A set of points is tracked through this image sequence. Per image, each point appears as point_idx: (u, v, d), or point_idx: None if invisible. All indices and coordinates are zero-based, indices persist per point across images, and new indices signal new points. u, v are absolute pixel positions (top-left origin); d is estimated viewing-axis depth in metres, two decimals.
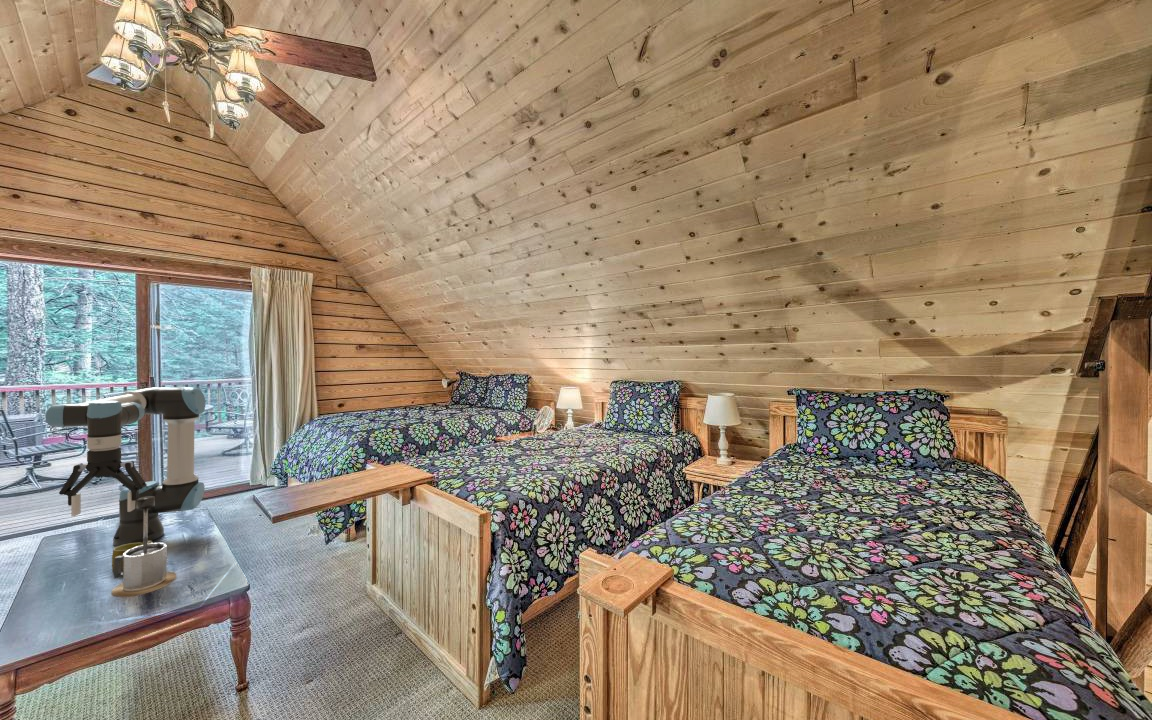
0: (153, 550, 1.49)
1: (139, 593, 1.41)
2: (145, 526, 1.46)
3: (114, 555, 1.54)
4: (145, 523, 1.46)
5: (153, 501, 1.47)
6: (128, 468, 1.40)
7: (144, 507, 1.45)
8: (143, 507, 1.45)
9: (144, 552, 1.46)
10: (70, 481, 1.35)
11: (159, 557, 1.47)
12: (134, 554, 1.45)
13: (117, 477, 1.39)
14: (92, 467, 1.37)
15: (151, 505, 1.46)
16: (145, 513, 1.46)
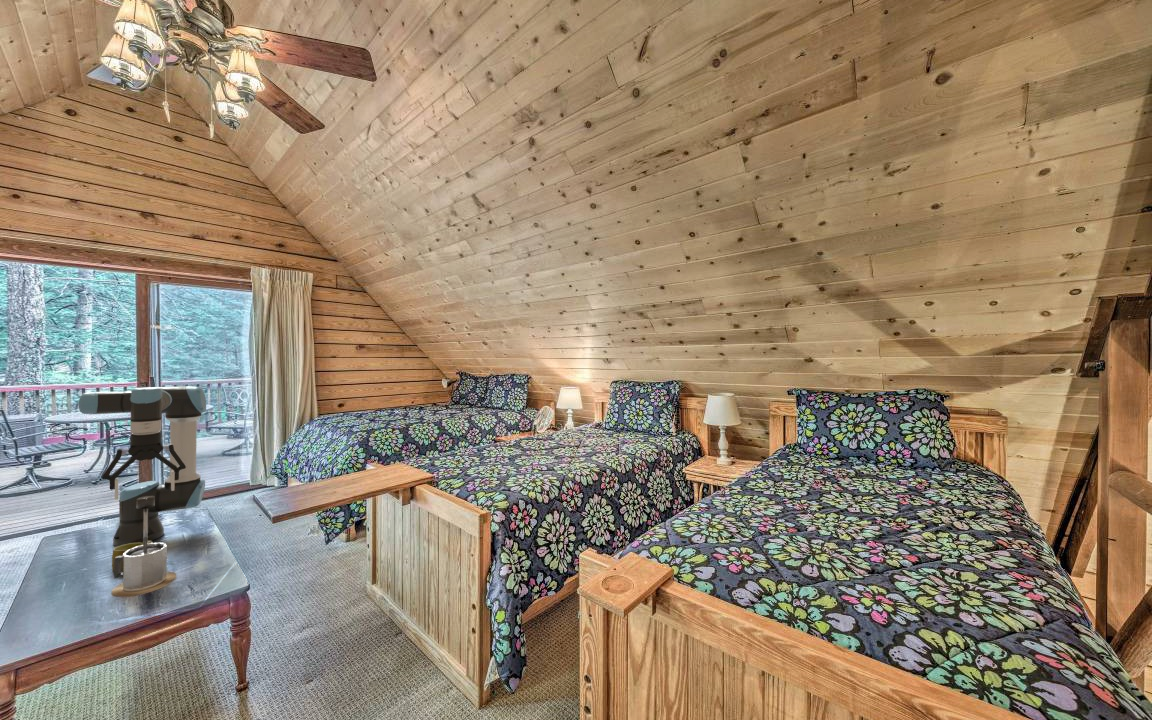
0: (153, 550, 1.49)
1: (139, 593, 1.41)
2: (145, 526, 1.46)
3: (114, 555, 1.54)
4: (145, 523, 1.46)
5: (153, 501, 1.47)
6: (172, 450, 1.50)
7: (144, 507, 1.45)
8: (143, 507, 1.45)
9: (144, 552, 1.46)
10: (113, 465, 1.40)
11: (159, 557, 1.47)
12: (134, 554, 1.45)
13: (161, 459, 1.48)
14: (136, 451, 1.43)
15: (151, 505, 1.46)
16: (145, 513, 1.46)
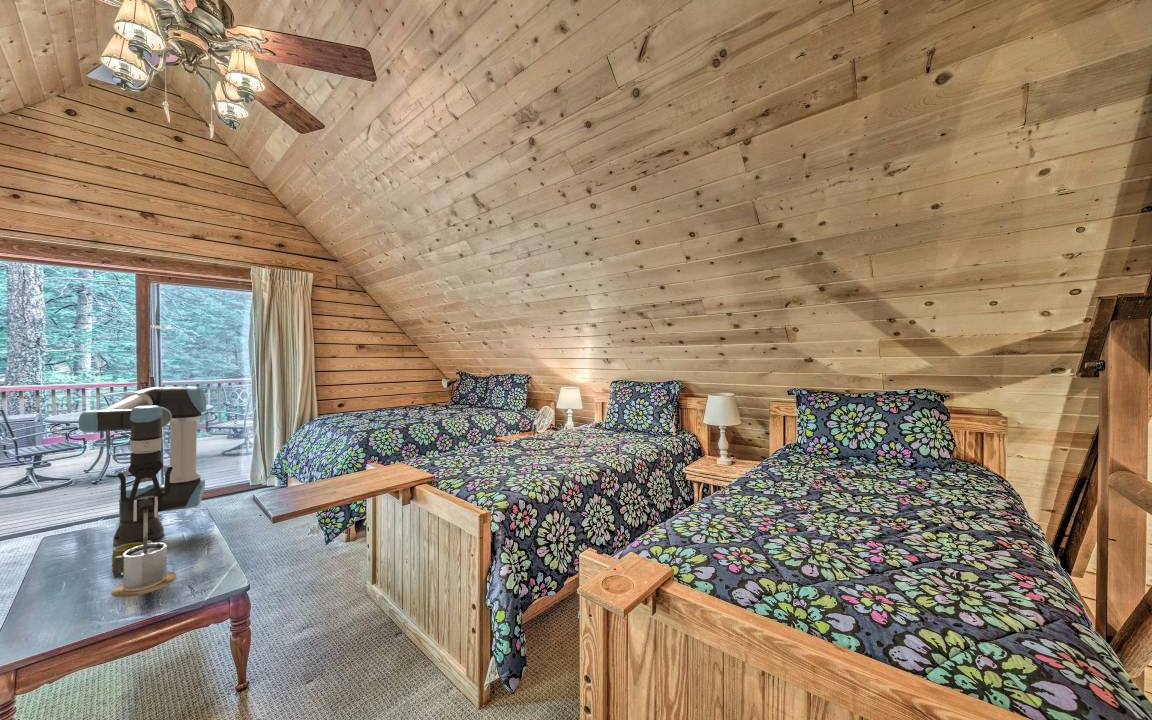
0: (153, 550, 1.49)
1: (139, 593, 1.41)
2: (145, 526, 1.46)
3: (114, 555, 1.54)
4: (145, 523, 1.46)
5: (153, 501, 1.47)
6: (168, 472, 1.50)
7: (144, 507, 1.45)
8: (143, 507, 1.45)
9: (144, 552, 1.46)
10: (124, 488, 1.42)
11: (159, 557, 1.47)
12: (134, 554, 1.45)
13: (154, 480, 1.47)
14: (136, 468, 1.44)
15: (151, 505, 1.46)
16: (145, 513, 1.46)
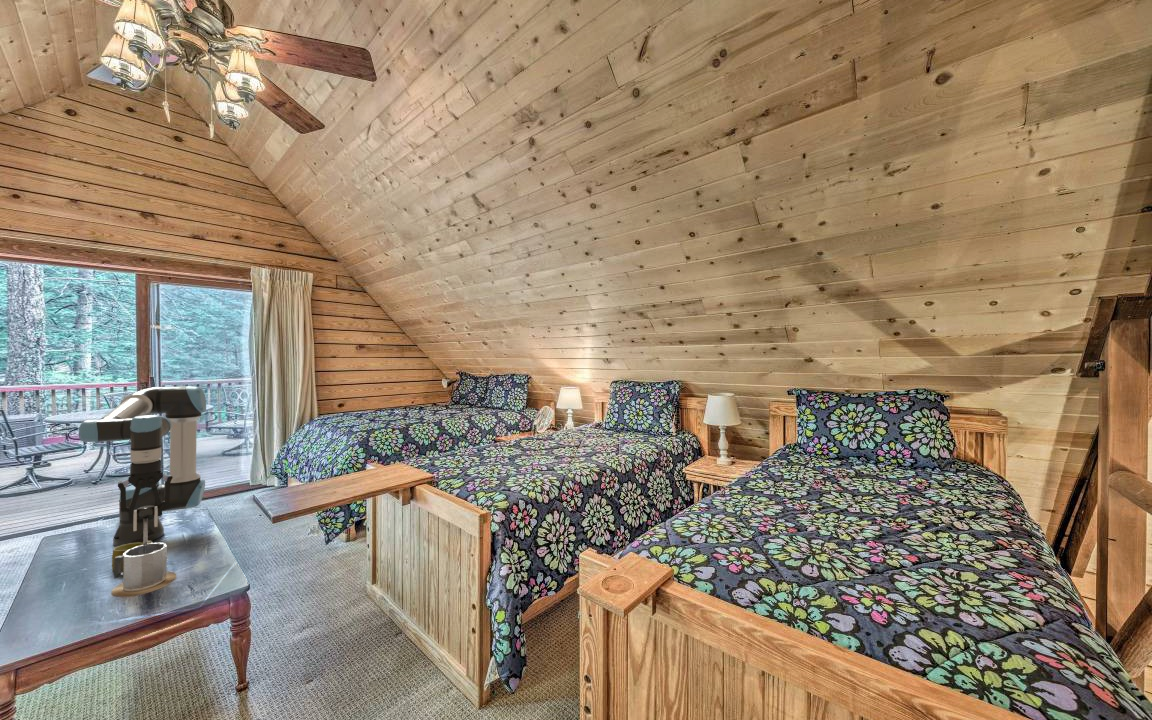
0: None
1: (139, 593, 1.41)
2: (145, 536, 1.46)
3: (114, 555, 1.54)
4: (145, 533, 1.46)
5: (153, 510, 1.47)
6: (168, 482, 1.50)
7: (144, 517, 1.45)
8: (143, 517, 1.45)
9: None
10: (124, 498, 1.42)
11: (159, 557, 1.47)
12: None
13: (154, 490, 1.47)
14: (136, 478, 1.44)
15: (151, 515, 1.46)
16: (145, 523, 1.46)
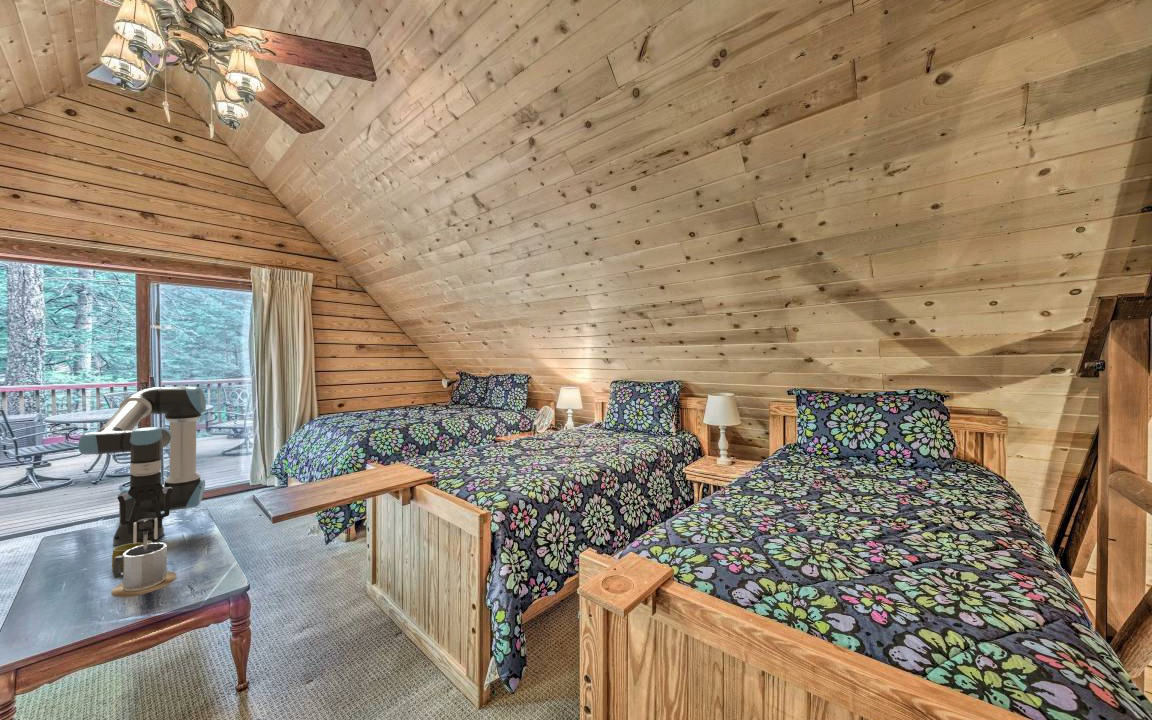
0: None
1: (139, 593, 1.41)
2: (145, 548, 1.47)
3: (114, 555, 1.54)
4: (145, 545, 1.47)
5: (153, 523, 1.47)
6: (168, 494, 1.50)
7: (144, 529, 1.45)
8: (143, 529, 1.45)
9: None
10: (124, 510, 1.42)
11: (159, 557, 1.47)
12: None
13: (154, 502, 1.47)
14: (135, 491, 1.44)
15: (151, 527, 1.47)
16: (145, 535, 1.46)
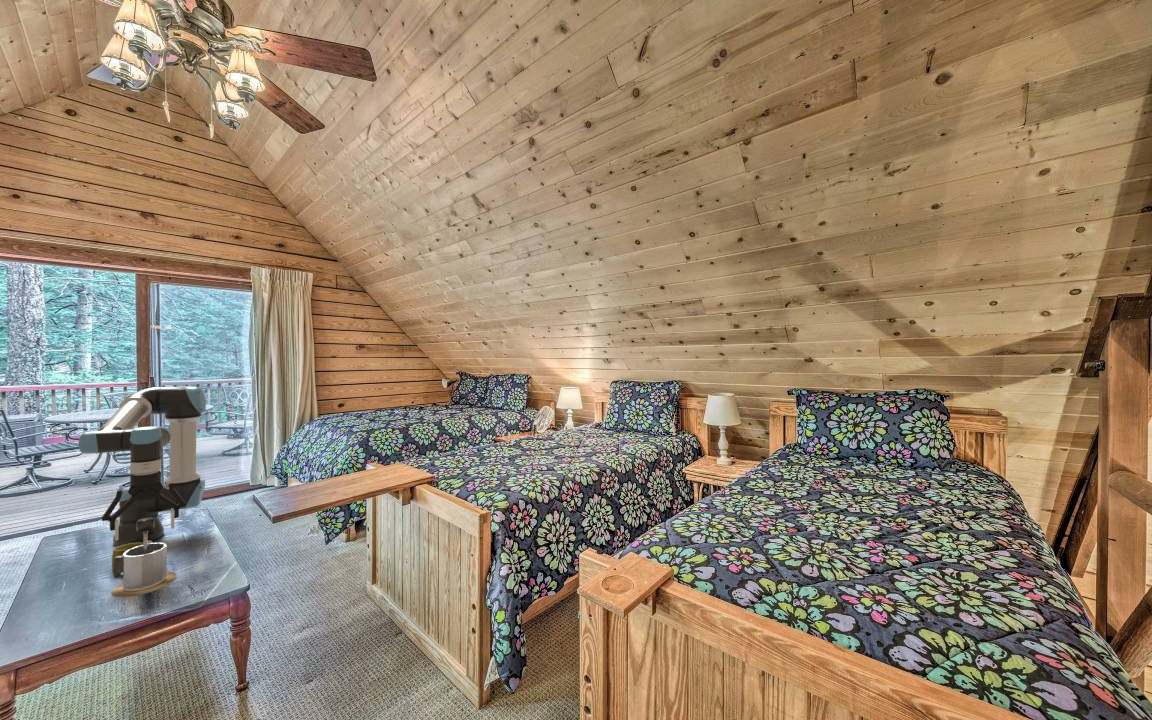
0: None
1: (139, 593, 1.41)
2: (145, 548, 1.47)
3: (114, 555, 1.54)
4: (145, 545, 1.47)
5: (153, 523, 1.47)
6: (172, 488, 1.50)
7: (144, 529, 1.45)
8: (143, 529, 1.45)
9: None
10: (113, 507, 1.40)
11: (159, 557, 1.47)
12: None
13: (161, 498, 1.48)
14: (136, 491, 1.44)
15: (151, 527, 1.47)
16: (145, 535, 1.46)
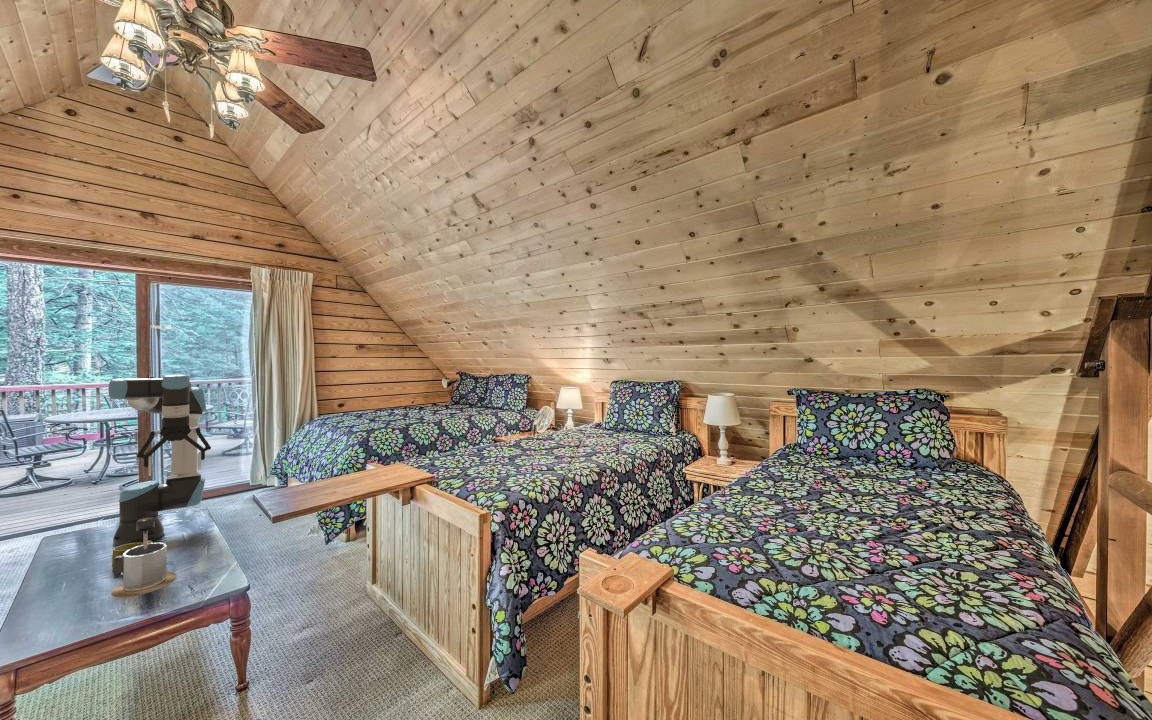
0: None
1: (139, 593, 1.41)
2: (145, 548, 1.47)
3: (114, 555, 1.54)
4: (145, 545, 1.47)
5: (153, 523, 1.47)
6: (199, 432, 1.64)
7: (144, 529, 1.45)
8: (143, 529, 1.45)
9: None
10: (147, 445, 1.54)
11: (159, 557, 1.47)
12: None
13: (189, 440, 1.62)
14: (167, 432, 1.57)
15: (151, 527, 1.47)
16: (145, 535, 1.46)
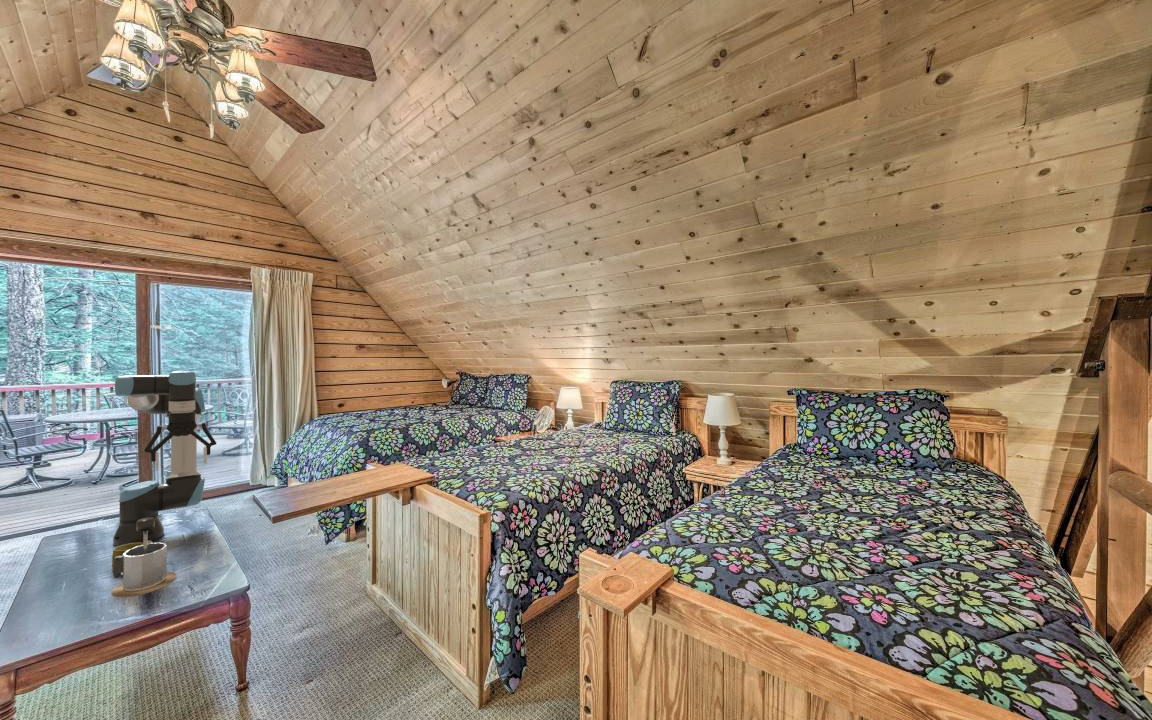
0: None
1: (139, 593, 1.41)
2: (145, 548, 1.47)
3: (114, 555, 1.54)
4: (145, 545, 1.47)
5: (153, 523, 1.47)
6: (204, 427, 1.67)
7: (144, 529, 1.45)
8: (143, 529, 1.45)
9: None
10: (154, 440, 1.57)
11: (159, 557, 1.47)
12: None
13: (195, 435, 1.65)
14: (173, 427, 1.60)
15: (151, 527, 1.47)
16: (145, 535, 1.46)
